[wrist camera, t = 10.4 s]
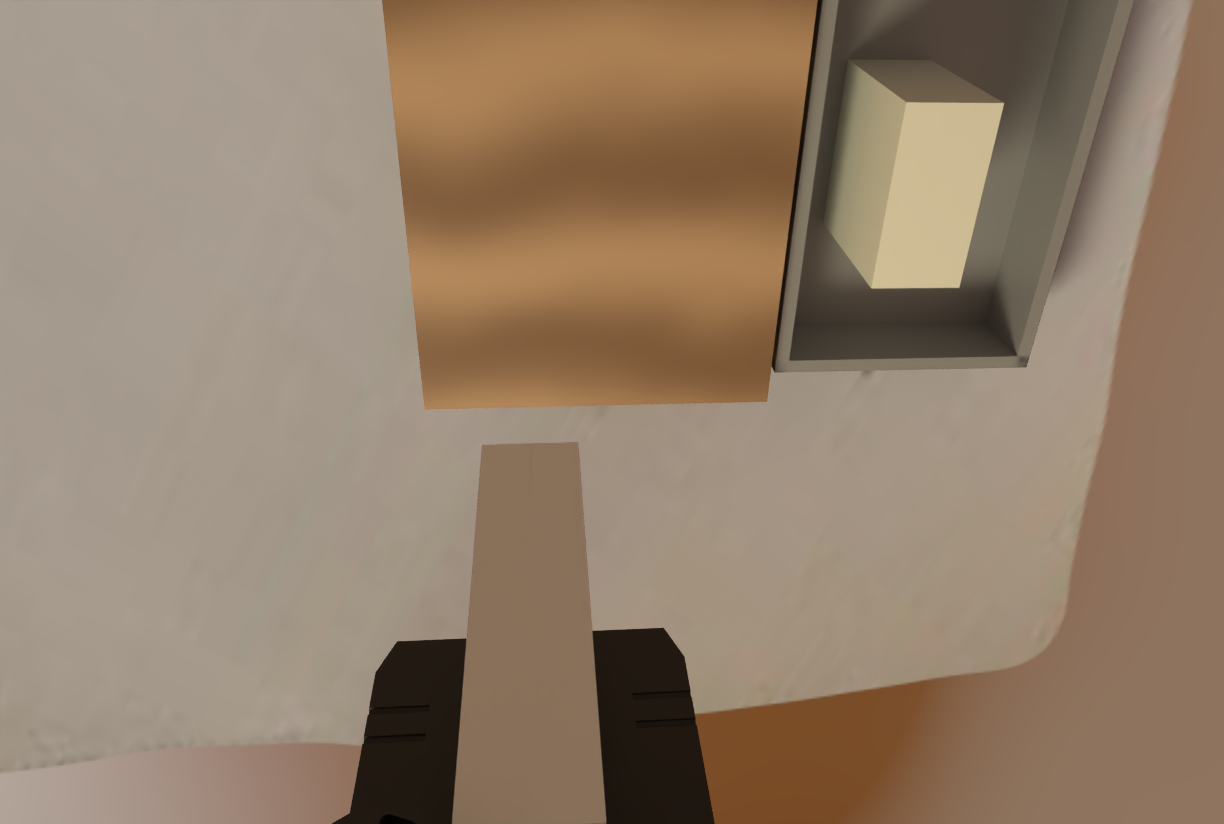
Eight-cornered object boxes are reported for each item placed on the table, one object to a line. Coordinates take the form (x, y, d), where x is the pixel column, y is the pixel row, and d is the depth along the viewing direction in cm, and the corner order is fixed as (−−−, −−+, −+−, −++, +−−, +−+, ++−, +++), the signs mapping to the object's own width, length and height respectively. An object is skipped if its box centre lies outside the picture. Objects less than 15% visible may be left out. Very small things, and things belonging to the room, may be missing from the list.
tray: (806, -111, 30) (836, -104, 27) (1102, -106, 31) (1162, -99, 28) (756, 330, 39) (774, 372, 36) (989, 326, 39) (1026, 367, 36)
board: (385, -157, 29) (366, -154, 25) (800, -147, 30) (835, -144, 26) (434, 357, 38) (424, 409, 35) (746, 351, 39) (766, 401, 36)
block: (906, 102, 28) (1004, 103, 28) (847, 59, 33) (931, 59, 33) (871, 288, 31) (959, 287, 31) (823, 222, 36) (898, 222, 36)
